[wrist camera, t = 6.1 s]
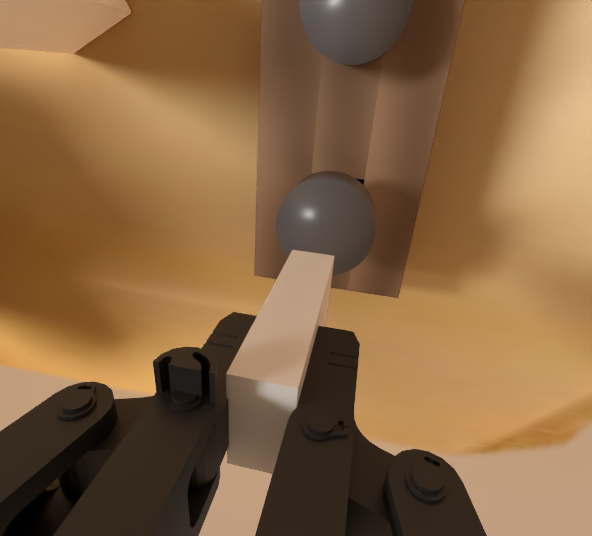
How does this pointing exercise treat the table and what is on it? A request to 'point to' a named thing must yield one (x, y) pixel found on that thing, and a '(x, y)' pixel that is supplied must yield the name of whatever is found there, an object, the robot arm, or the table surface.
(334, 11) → the knob middle
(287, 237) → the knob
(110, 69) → the table surface
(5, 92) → the table surface
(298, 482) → the robot arm
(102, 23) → the milk
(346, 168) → the mount
